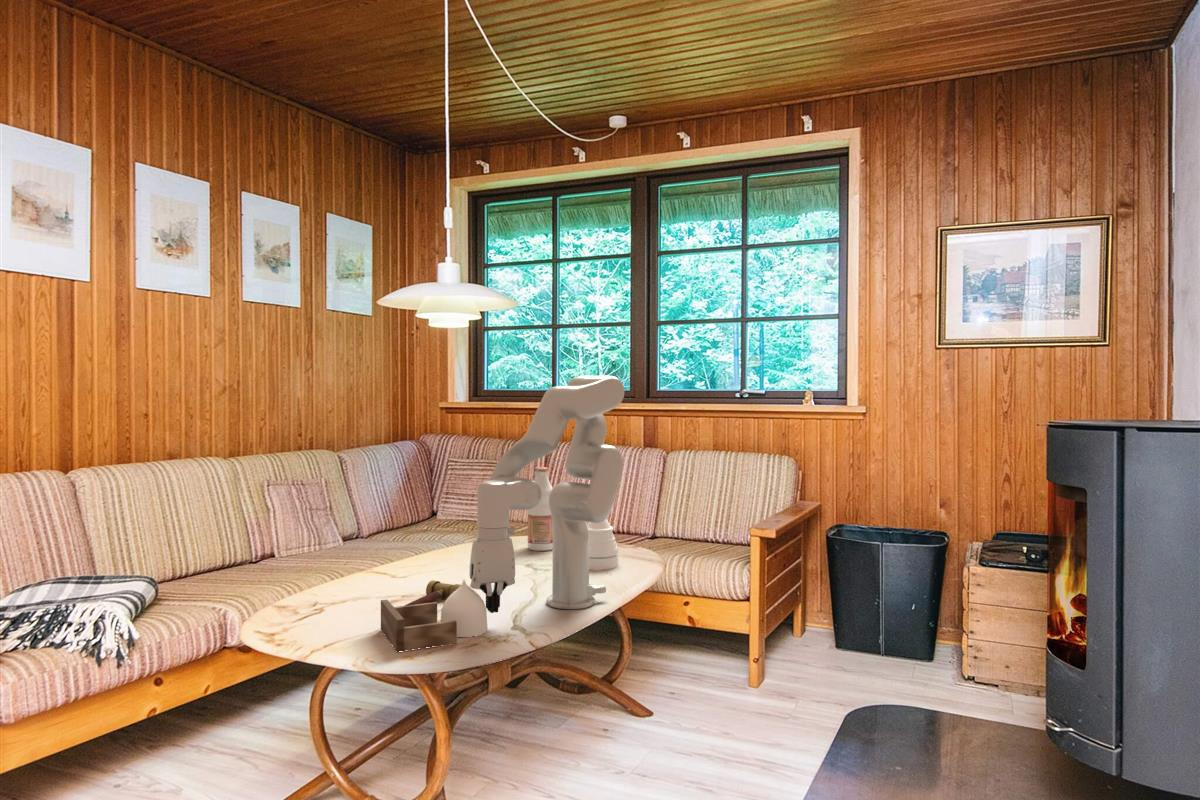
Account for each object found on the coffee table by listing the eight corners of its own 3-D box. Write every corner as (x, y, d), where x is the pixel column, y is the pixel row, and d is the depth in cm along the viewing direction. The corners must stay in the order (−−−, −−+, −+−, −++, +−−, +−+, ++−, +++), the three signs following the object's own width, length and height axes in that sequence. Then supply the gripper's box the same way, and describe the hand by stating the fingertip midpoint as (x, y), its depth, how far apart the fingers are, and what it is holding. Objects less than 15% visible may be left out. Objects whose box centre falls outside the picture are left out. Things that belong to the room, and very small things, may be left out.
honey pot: (577, 560, 257) (578, 504, 256) (617, 560, 257) (617, 504, 257) (577, 569, 244) (578, 511, 243) (619, 569, 244) (619, 511, 244)
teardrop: (444, 623, 189) (444, 573, 189) (490, 623, 189) (490, 573, 189) (435, 638, 178) (435, 585, 178) (484, 638, 178) (484, 585, 178)
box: (436, 622, 189) (436, 593, 189) (456, 644, 174) (456, 612, 174) (380, 630, 183) (380, 600, 183) (396, 652, 168) (396, 620, 168)
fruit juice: (522, 547, 275) (522, 467, 274) (545, 544, 281) (545, 465, 280) (537, 552, 267) (537, 469, 267) (560, 549, 273) (560, 468, 273)
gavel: (413, 607, 191) (382, 602, 196) (414, 626, 192) (382, 620, 196) (466, 582, 210) (436, 578, 215) (466, 599, 210) (436, 594, 215)
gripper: (517, 528, 193) (516, 603, 193) (457, 533, 186) (457, 611, 186) (528, 533, 186) (528, 611, 186) (467, 539, 179) (466, 619, 180)
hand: (492, 611), depth 186 cm, fingers closed
